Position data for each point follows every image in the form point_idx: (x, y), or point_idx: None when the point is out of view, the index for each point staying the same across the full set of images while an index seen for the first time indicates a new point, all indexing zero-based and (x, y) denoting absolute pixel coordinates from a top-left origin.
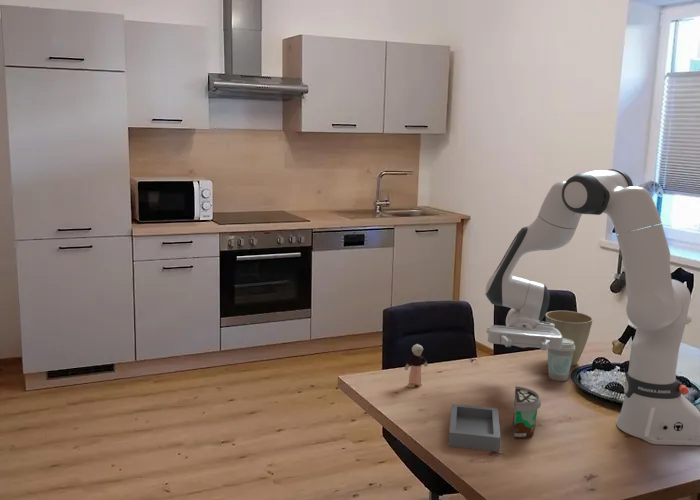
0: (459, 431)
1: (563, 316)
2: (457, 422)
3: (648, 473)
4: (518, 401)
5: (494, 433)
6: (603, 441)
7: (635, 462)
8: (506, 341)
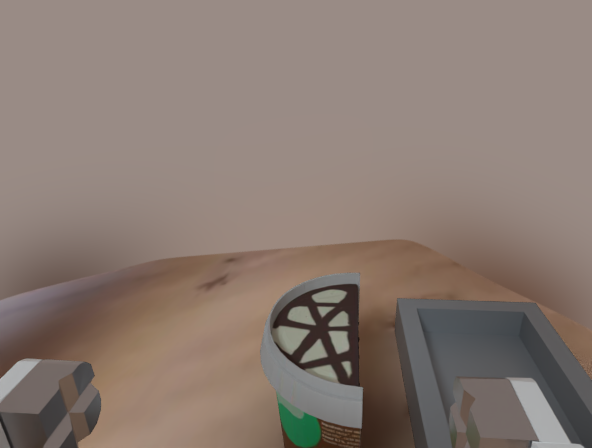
0: (511, 308)
1: None
2: (573, 437)
3: (81, 302)
4: (352, 304)
5: (415, 311)
6: None
7: (70, 331)
8: (522, 379)
